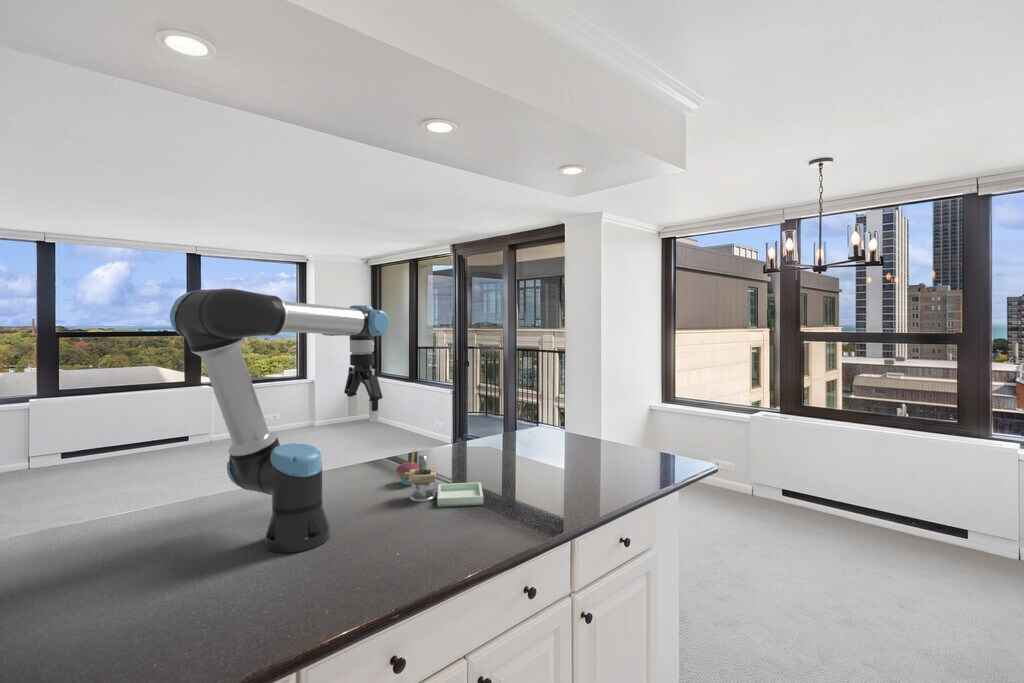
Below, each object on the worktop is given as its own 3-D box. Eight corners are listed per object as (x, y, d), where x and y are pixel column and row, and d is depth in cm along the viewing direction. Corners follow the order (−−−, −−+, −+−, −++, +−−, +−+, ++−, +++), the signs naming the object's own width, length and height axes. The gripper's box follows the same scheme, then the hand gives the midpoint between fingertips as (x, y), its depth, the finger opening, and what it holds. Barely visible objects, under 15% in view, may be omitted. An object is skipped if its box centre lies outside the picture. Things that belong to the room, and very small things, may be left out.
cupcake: (424, 479, 176) (424, 445, 175) (417, 487, 167) (417, 451, 167) (400, 479, 177) (400, 445, 176) (392, 487, 168) (392, 451, 168)
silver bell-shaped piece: (435, 501, 154) (435, 459, 154) (408, 502, 153) (408, 460, 153) (436, 492, 162) (435, 452, 162) (411, 493, 161) (410, 453, 161)
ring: (435, 481, 154) (435, 475, 154) (403, 483, 153) (403, 476, 153) (436, 474, 162) (436, 468, 162) (405, 475, 161) (405, 469, 161)
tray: (483, 504, 151) (483, 496, 151) (437, 506, 150) (437, 498, 149) (480, 489, 165) (480, 482, 165) (438, 491, 163) (438, 484, 163)
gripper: (393, 354, 158) (393, 421, 158) (354, 351, 175) (354, 412, 176) (371, 355, 152) (372, 425, 153) (333, 352, 170) (334, 415, 171)
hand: (363, 418), depth 164 cm, fingers open, 13 cm apart
